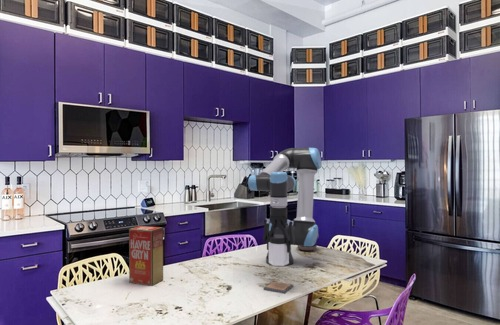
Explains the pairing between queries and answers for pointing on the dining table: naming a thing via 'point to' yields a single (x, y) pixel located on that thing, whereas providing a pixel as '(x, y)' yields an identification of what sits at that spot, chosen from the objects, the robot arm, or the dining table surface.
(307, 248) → the flowerpot
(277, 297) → the dining table surface
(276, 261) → the jar
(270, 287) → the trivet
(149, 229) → the food packaging
